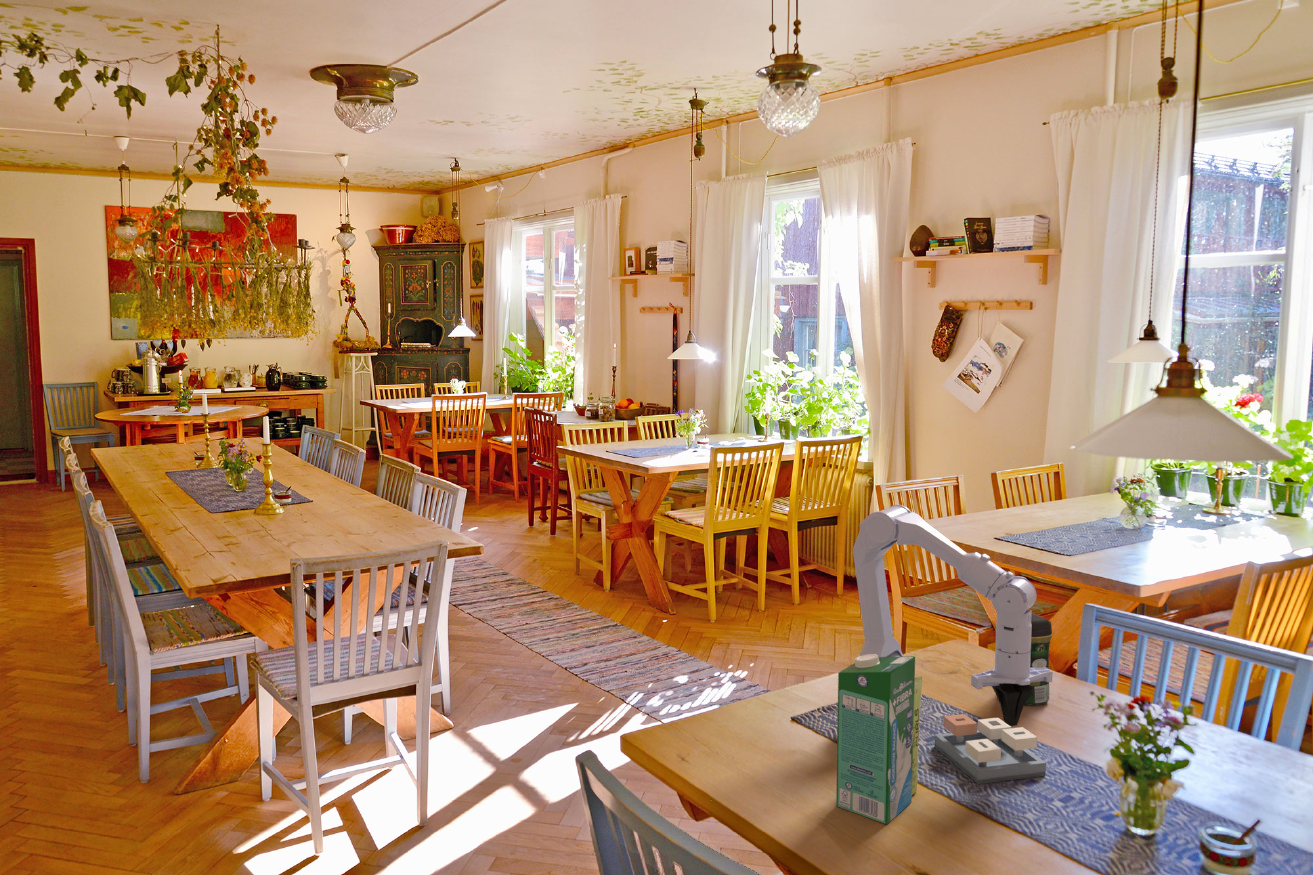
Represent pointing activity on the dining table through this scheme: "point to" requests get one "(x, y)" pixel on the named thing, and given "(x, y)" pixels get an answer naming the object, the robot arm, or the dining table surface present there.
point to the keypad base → (995, 770)
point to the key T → (1019, 740)
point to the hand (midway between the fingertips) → (1010, 723)
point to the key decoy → (960, 726)
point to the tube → (916, 731)
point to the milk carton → (875, 736)
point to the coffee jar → (1039, 657)
